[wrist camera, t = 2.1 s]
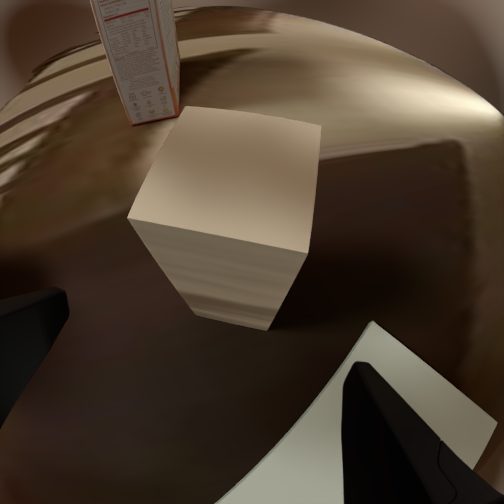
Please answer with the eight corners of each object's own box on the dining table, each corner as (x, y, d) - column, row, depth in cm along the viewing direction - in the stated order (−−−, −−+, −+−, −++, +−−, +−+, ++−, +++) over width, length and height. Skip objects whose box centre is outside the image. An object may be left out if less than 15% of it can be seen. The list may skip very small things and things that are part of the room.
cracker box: (140, 69, 32) (116, -55, 13) (181, 61, 33) (168, -67, 14) (126, 129, 27) (75, -45, 8) (180, 118, 27) (153, -69, 8)
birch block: (267, 330, 19) (308, 253, 7) (195, 314, 19) (127, 217, 7) (279, 263, 21) (321, 125, 9) (213, 250, 21) (185, 106, 10)
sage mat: (376, 575, 9) (378, 578, 9) (209, 508, 13) (208, 511, 13) (493, 422, 15) (497, 422, 15) (369, 322, 19) (372, 320, 19)
